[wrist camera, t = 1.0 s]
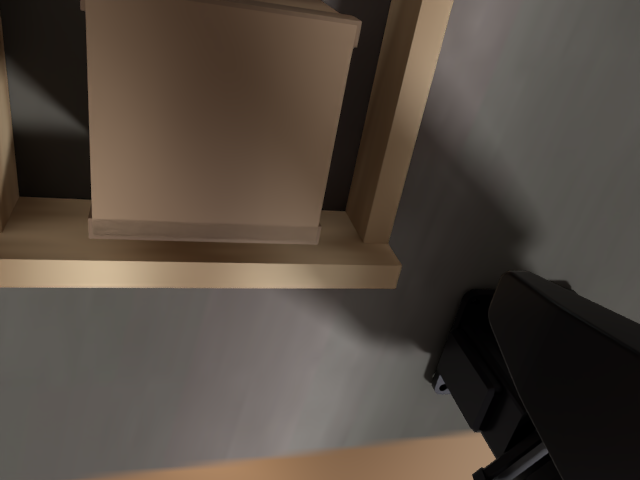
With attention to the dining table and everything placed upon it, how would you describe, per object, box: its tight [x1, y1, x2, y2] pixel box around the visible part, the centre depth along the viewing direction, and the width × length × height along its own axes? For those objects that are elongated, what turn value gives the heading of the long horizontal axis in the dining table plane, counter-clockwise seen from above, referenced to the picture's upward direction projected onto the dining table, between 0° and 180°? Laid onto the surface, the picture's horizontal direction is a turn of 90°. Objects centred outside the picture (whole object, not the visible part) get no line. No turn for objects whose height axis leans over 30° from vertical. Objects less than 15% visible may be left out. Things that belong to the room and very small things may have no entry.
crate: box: [80, 0, 362, 245], centre depth 16 cm, size 6×6×6 cm
